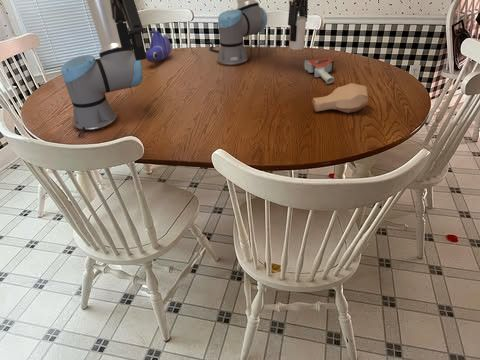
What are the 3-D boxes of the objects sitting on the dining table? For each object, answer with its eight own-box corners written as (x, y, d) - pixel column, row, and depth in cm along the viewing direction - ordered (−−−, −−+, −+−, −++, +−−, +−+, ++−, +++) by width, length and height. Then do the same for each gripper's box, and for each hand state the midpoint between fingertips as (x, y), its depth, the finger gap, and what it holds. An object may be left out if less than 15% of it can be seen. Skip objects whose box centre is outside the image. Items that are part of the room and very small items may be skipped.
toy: (159, 62, 200) (139, 68, 178) (155, 30, 193) (133, 32, 171) (176, 61, 198) (157, 67, 176) (172, 29, 191) (151, 31, 169)
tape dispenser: (330, 89, 151) (346, 71, 163) (331, 77, 147) (348, 59, 160) (292, 80, 158) (310, 64, 171) (293, 69, 155) (311, 53, 167)
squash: (372, 113, 127) (374, 92, 121) (316, 123, 129) (316, 102, 123) (363, 96, 135) (365, 75, 129) (310, 106, 137) (310, 86, 130)
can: (304, 49, 162) (306, 19, 154) (289, 50, 162) (290, 20, 154) (303, 45, 167) (305, 15, 159) (288, 45, 168) (289, 16, 160)
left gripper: (144, -37, 77) (162, 61, 89) (115, -42, 95) (133, 41, 107) (109, -33, 74) (133, 68, 86) (86, -39, 92) (108, 45, 104)
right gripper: (297, -14, 140) (294, 45, 154) (318, -22, 153) (313, 34, 167) (280, -15, 144) (279, 43, 158) (302, -22, 157) (299, 32, 170)
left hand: (133, 53), depth 97 cm, fingers open, 13 cm apart
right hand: (296, 38), depth 162 cm, fingers closed on can, 7 cm apart
